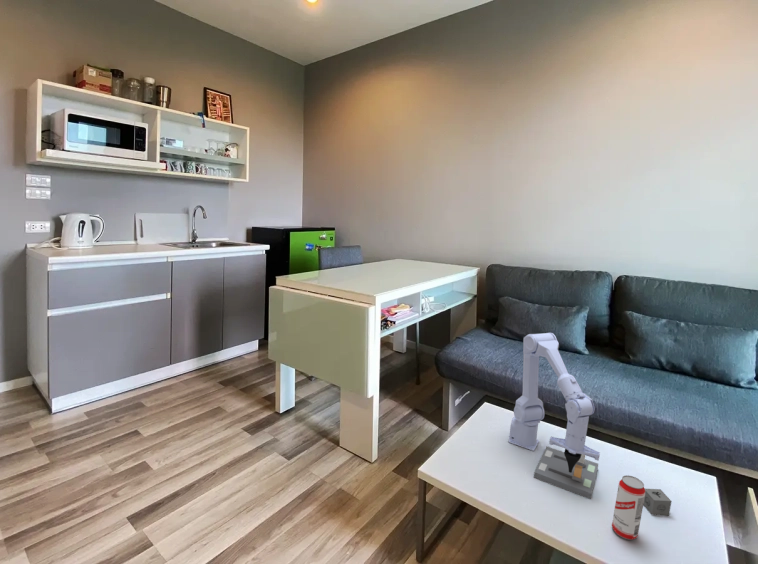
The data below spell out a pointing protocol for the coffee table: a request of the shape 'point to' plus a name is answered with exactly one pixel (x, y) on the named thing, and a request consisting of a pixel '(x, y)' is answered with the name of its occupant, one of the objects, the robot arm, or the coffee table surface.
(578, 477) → the orange lever
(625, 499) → the beer can
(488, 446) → the coffee table surface
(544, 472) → the slider lever panel
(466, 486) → the coffee table surface
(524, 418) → the robot arm
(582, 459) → the white lever
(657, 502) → the dice cube
